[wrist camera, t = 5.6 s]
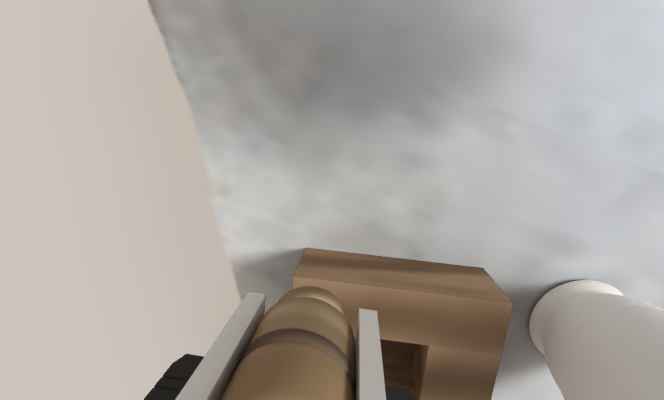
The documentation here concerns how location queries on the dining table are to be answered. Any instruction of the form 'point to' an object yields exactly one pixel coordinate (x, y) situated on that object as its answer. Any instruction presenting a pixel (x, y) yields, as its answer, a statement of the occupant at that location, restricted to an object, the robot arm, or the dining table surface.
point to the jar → (600, 342)
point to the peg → (298, 352)
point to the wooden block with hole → (421, 318)
